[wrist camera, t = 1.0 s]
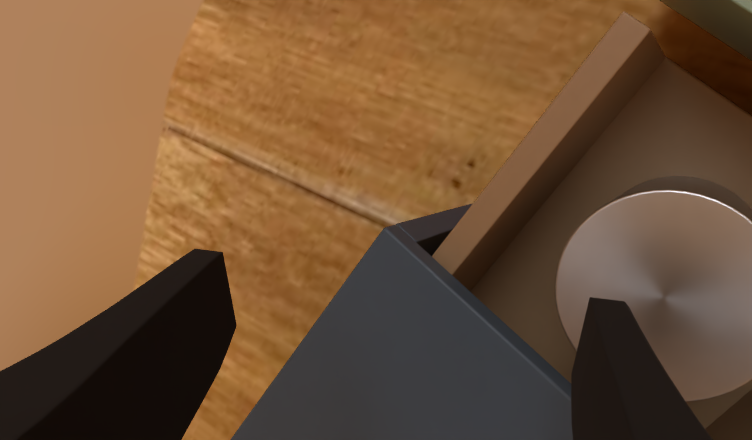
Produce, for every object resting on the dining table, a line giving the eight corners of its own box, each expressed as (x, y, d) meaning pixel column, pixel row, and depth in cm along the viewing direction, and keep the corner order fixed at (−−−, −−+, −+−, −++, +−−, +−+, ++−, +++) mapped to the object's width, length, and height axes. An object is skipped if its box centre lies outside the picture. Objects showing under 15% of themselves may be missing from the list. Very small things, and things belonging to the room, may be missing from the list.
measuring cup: (600, 332, 21) (564, 396, 16) (586, 184, 21) (544, 199, 16) (846, 334, 18) (902, 415, 13) (833, 160, 18) (885, 168, 12)
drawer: (798, -177, 18) (841, -332, 12) (1234, 50, 15) (1585, -10, 9) (437, 275, 25) (351, 318, 19) (681, 500, 22) (671, 637, 16)
